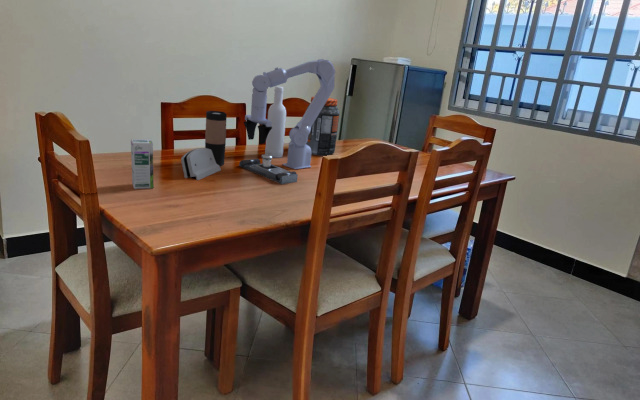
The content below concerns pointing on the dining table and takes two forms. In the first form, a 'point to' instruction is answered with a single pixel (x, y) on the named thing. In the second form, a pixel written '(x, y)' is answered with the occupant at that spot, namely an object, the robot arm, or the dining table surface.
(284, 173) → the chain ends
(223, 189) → the dining table surface
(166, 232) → the dining table surface
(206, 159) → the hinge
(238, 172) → the dining table surface
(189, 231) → the dining table surface
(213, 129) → the travel mug
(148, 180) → the syrup box
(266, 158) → the steel pin
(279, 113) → the bottle
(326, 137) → the supplement tub
